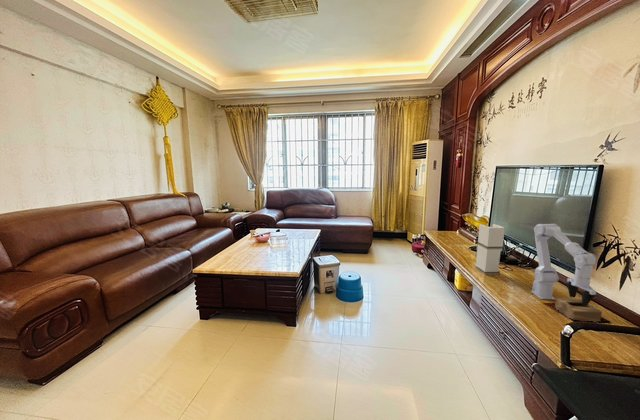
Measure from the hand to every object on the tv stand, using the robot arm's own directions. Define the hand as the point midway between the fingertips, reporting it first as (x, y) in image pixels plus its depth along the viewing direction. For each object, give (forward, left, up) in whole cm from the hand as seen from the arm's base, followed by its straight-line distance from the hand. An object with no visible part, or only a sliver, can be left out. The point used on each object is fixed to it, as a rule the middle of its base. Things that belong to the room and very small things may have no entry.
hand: (578, 300), depth 131 cm
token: (0, 0, -8) cm, 8 cm away
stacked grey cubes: (-54, -18, -8) cm, 58 cm away
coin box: (0, 0, -8) cm, 8 cm away
